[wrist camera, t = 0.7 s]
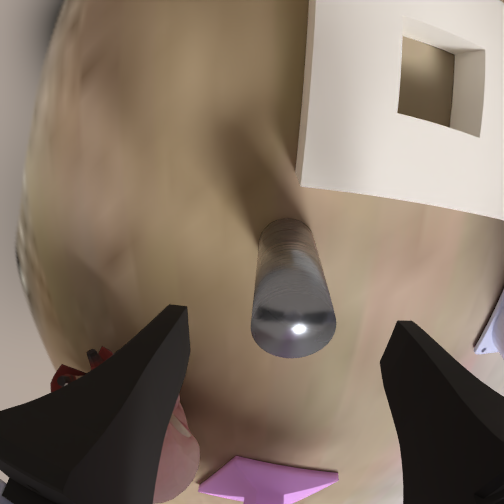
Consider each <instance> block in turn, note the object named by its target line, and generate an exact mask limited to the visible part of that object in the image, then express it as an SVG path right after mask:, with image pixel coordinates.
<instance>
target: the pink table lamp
mask: <svg viewBox="0 0 504 504" xmlns="http://www.w3.org/2000/svg"><path fill="white" fill-rule="evenodd" d="M338 480H339V479H338V473H335V472H325V471H317V470H309V469H302V468H295V467H289V466H283V465H278V464H272V463H267V462H262V461H258V460H253V459H249V458H244V457H240V456H235V457H234V458H233V459H231V460H230V461H229V462H228V463H227V464H225V465H224V466H223V467H222V468H221V469H219V470H218V471H217V472H216V473H214V474H213V475H212V476H210V477H209V478H208V479H207V480H205V481H204V482H203V483H201V484H200V485H199V490H198V492H201V493H205V494H210V495H214V496H218V497H223V498H228V499H233V500H238V501H244V504H292V503H294V502H297V501H299V500H301V499H303V498H305V497H307V496H309V495H312V494H314V493H316V492H318V491H320V490H322V489H323V488H325V487H327V486H329V485H331V484H333V483H335V482H337V481H338Z"/></svg>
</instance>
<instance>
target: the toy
mask: <svg viewBox="0 0 504 504" xmlns="http://www.w3.org/2000/svg"><path fill="white" fill-rule="evenodd" d="M113 354H114V353H112V352H111V351H110V350H108V349H106V348H105V347H103V346H102V347H101V349H100V351H99V353H97V351H96V350H95V349H91V350H89V351H88V352H87V356H88V359H89V362H90V366H91V370H93V369H94V368H96V367H97V366H99V365H100V364H101V363H103V362H104V361H105V360H107V359H108V358H109V357H111V356H112V355H113ZM85 374H87V373H84V372H82V371H79V370H77V369H74V368H71V367H68V366H66V365H63V364H62V365H61V366H60V367H59V369H58V370H57V372H56V373H55V375H54V377H53V379H52V381H51V392H54V391H56V390H58V389H60V388H62V387H63V386H65V385H67V384H69V383H71V382H73V381H74V380H76V379H78V378H80V377H82V376H83V375H85ZM199 461H200V447H199V444H198V442H197V440H196V438H195V437H194V436H193V435H192V433H191V432H190V430H189V428H188V424H187V420H186V416H185V413H184V410H183V408H182V405H181V403H180V395H178V398H177V401H176V404H175V407H174V410H173V413H172V416H171V418H170V421H169V424H168V427H167V431H166V434H165V438H164V442H163V447H162V452H161V457H160V461H159V467H158V473H157V478H156V484H155V491H154V498H153V504H155V503H164V502H166V501H169V500H171V499H174V498H175V497H176V496H178V495H179V494H180V493H182V492H183V491H184V490H185V489H186V488H187V487H188V486H189V484H190V483H191V482H192V481H193V479H194V477H195V474H196V472H197V470H198V467H199Z"/></svg>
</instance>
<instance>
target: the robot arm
mask: <svg viewBox="0 0 504 504" xmlns="http://www.w3.org/2000/svg"><path fill="white" fill-rule="evenodd" d="M474 352H475V354H485V353H493V352H499V353H500V355H501V356H502V358H503V359H504V290H503V292H502V294H501V297H500V299H499V301H498V303H497V305H496V307H495V310H494V312H493V314H492V316H491V318H490V320H489V322H488V324H487V326H486V328H485V329H484V331H483V333H482V335H481V337H480V339H479V341H478V342H477V344H476V346H475V348H474ZM189 355H190V339H189V326H188V311H187V306H179V305H171V304H169V305H168V306H167V307H166V308H165V309H164V310H163V311H162V312H160V313H159V314H158V315H157V316H156V317H155V318H154V319H153V320H152V321H151V322H150V323H149V324H148V325H147V326H146V327H145V328H144V329H143V330H141V331H140V332H139V333H138V334H137V335H136V336H135V337H134V338H133V339H131V340H130V341H129V342H128V343H127V344H126V345H124V346H123V347H122V348H121V349H119V350H118V351H117V352H116V353H114V354H113V355H112V356H111V357H109V358H108V359H107V360H105V361H104V362H103V363H101V364H100V365H99V366H97V367H96V368H94V369H93V370H91V371H90V372H88V373H87V374H85V375H83V376H82V377H80V378H78V379H76V380H74V381H73V382H71V383H69V384H67V385H65V386H63V387H62V388H60V389H58V390H56V391H54V392H51V393H49V394H47V395H45V396H42V397H40V398H38V399H35V400H33V401H30V402H27V403H25V404H22V405H18V406H15V407H12V408H8V409H5V410H2V411H0V470H1V471H2V472H3V473H5V474H6V475H7V476H8V477H9V480H8V482H7V484H6V483H5V482H4V481H2V480H1V479H0V504H153V498H154V491H155V484H156V478H157V473H158V467H159V461H160V457H161V452H162V447H163V442H164V438H165V434H166V431H167V427H168V424H169V421H170V418H171V416H172V413H173V410H174V407H175V404H176V401H177V398H178V395H179V393H180V390H181V387H182V384H183V381H184V378H185V374H186V370H187V365H188V360H189ZM380 366H381V373H382V379H383V385H384V389H385V392H386V396H387V399H388V403H389V406H390V410H391V413H392V417H393V420H394V424H395V427H396V431H397V435H398V439H399V444H400V451H401V459H402V469H403V504H504V397H503V396H502V395H500V394H499V393H497V392H495V391H494V390H493V389H491V388H490V387H488V386H487V385H486V384H484V383H483V382H482V381H480V380H479V379H478V378H476V377H475V376H474V375H473V374H471V373H470V372H469V371H468V370H467V369H466V368H464V367H463V366H462V365H461V364H460V363H459V362H457V361H456V360H455V359H454V358H453V357H452V356H451V355H450V354H449V353H448V352H446V351H445V350H444V349H443V348H442V347H441V346H440V345H439V344H438V343H437V342H436V341H435V340H434V339H432V338H431V337H430V336H429V335H428V334H427V333H426V332H425V331H424V330H423V329H421V328H420V327H419V326H418V325H417V324H415V323H414V322H413V321H397V323H396V325H395V328H394V330H393V333H392V335H391V338H390V340H389V342H388V345H387V347H386V349H385V352H384V354H383V356H382V358H381V360H380Z"/></svg>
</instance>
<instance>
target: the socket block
mask: <svg viewBox="0 0 504 504" xmlns="http://www.w3.org/2000/svg"><path fill="white" fill-rule="evenodd" d="M402 36H405V37H408V38H411V39H414V40H417V41H420V42H423V43H426V44H429V45H431V46H434V47H437V48H439V49H442V50H444V51H447V52H449V53H452V54H454V55H455V65H454V85H453V99H452V109H451V119H450V127H446V126H443V125H439V124H436V123H433V122H429V121H426V120H422V119H418V118H415V117H411V116H407V115H403V114H399V113H397V111H398V101H399V90H400V77H401V60H402ZM295 173H296V176H297V178H298V181H299V184H300V187H309V188H318V189H327V190H335V191H343V192H350V193H358V194H365V195H372V196H379V197H386V198H392V199H398V200H404V201H410V202H416V203H422V204H428V205H433V206H439V207H444V208H449V209H454V210H459V211H464V212H469V213H474V214H478V215H483V216H487V217H492V218H496V219H500V220H504V3H503V2H501V1H500V0H309V9H308V27H307V42H306V57H305V71H304V84H303V96H302V108H301V119H300V130H299V140H298V150H297V160H296V170H295Z"/></svg>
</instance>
